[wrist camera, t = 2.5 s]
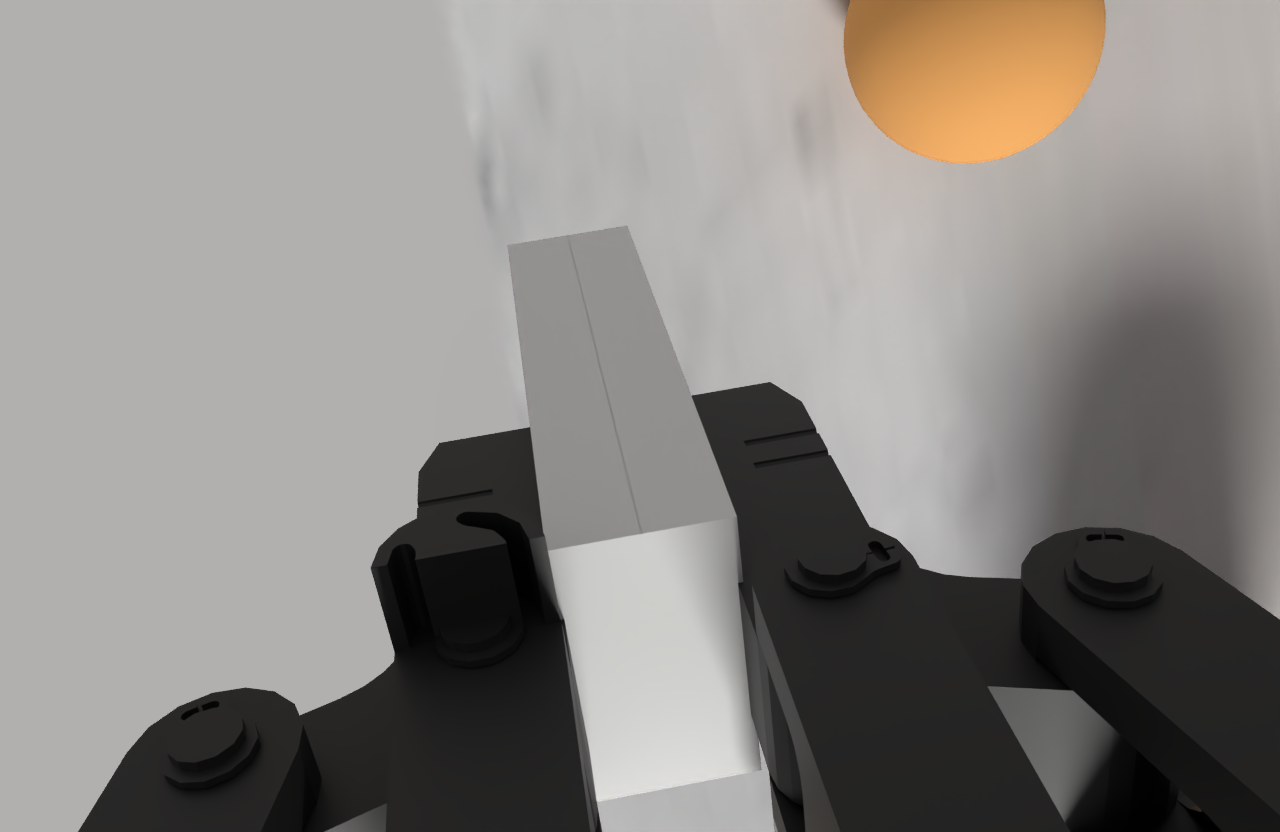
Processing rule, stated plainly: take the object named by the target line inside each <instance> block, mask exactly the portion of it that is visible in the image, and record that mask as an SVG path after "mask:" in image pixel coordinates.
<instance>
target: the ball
mask: <svg viewBox="0 0 1280 832" xmlns="http://www.w3.org/2000/svg"><path fill="white" fill-rule="evenodd" d="M1104 37H1105V4H1104V0H850V4H849V7H848V11H847V15H846V22H845V28H844V54H845V63H846V67H847V71H848V76H849V79H850V82H851V85H852V88H853V90H854V93H855V95H856V97H857V99H858V101H859V103H860V105H861V106H862V108H863V110H864V111H865V112H866V114H867V115H868V116H869V117H870V119H871V120H872V121H873V123H874V124H875V125H876V126H877V127H878V128H879V129H880V130H881V131H882V132H883V133H884V134H885V135H886V136H887V137H889V138H890V139H892V140H893V141H894V142H896V143H897V144H899V145H900V146H902V147H903V148H905V149H907V150H909V151H911V152H913V153H915V154H917V155H920V156H924V157H927V158H930V159H933V160H937V161H943V162H949V163H964V164H967V163H978V162H988V161H992V160H996V159H1001V158H1004V157H1007V156H1009V155H1012V154H1015V153H1017V152H1019V151H1021V150H1023V149H1025V148H1027V147H1029V146H1031V145H1033V144H1035V143H1036V142H1038V141H1039V140H1041V139H1043V138H1044V137H1046V136H1047V135H1048V134H1049V133H1051V132H1052V131H1053V130H1054V129H1056V128H1057V127H1058V126H1059V125H1060V124H1061V123H1062V122H1063V121H1064V120H1065V119H1066V118H1067V117H1068V116H1069V115H1070V114H1071V112H1072V111H1073V110H1074V109H1075V107H1076V106H1077V105H1078V104H1079V102H1080V101H1081V99H1082V97H1083V96H1084V94H1085V93H1086V91H1087V89H1088V87H1089V85H1090V83H1091V81H1092V79H1093V77H1094V75H1095V73H1096V70H1097V67H1098V64H1099V62H1100V58H1101V54H1102V50H1103V45H1104Z"/></svg>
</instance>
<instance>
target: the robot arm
mask: <svg viewBox="0 0 1280 832" xmlns="http://www.w3.org/2000/svg"><path fill="white" fill-rule="evenodd" d="M508 253H509V261H510V269H511V277H512V285H513V293H514V301H515V309H516V317H517V325H518V333H519V341H520V349H521V357H522V365H523V373H524V382H525V390H526V398H527V406H528V414H529V422H530V427H529V428H523V429H518V430H512V431H506V432H501V433H495V434H489V435H483V436H477V437H472V438H466V439H460V440H454V441H448V442H443V443H439V444H438V446H437V447H436V449H435V450H434V452H433V453H432V454H431V456H430V457H429V459H428V460H427V461H426V463H425V464H424V466H423V467H422V468H421V470H420V471H419V479H418V507H419V508H417V519H415V520H413V521H411V522H409V523H408V524H406V525H404V526H402V527H401V528H398V529H397V531H395V532H394V533H393V534H392V535H391V536H390V537H389V538H388V539H387V540H386V541H385V542H384V543H383V544H382V545H381V546H380V547H379V549H378V551H377V553H376V556H375V559H374V561H373V564H372V566H371V571H372V574H373V578H374V581H375V585H376V588H377V592H378V595H379V598H380V602H381V606H382V609H383V612H384V616H385V620H386V623H387V627H388V630H389V634H390V637H391V641H392V644H393V648H394V651H395V657H394V662H393V663H392V664H391V665H390V666H389V667H388V668H387V669H386V671H384V672H383V673H382V674H381V675H379V676H378V677H376V678H375V679H374V680H373V681H371V682H369V683H368V684H367V685H365V686H364V687H362V688H360V689H358V690H356V691H354V692H352V693H350V694H348V695H347V696H344V697H342V698H341V699H338V700H336V701H333V702H331V703H329V704H326V705H324V706H321V707H319V708H317V709H314V710H312V711H310V712H307V713H305V714H302V715H300V716H299V713H298V711H297V709H296V706H295V704H294V703H292V702H290V701H289V700H287V699H285V698H284V697H282V696H281V695H279V694H278V693H276V692H274V691H267V690H259V689H252V688H241V689H234V690H229V691H222V692H215V693H211V694H209V695H207V696H204V697H201V698H199V699H196V700H194V701H191V702H189V703H186V704H184V705H182V706H179V707H177V708H176V709H175V710H173V711H172V712H170V713H169V714H168V715H166V716H165V717H163V718H162V719H160V720H159V721H157V722H156V723H154V724H153V725H151V726H150V727H149V728H148V729H147V730H146V731H145V732H144V733H143V735H142V736H141V737H140V738H139V739H138V740H137V742H136V743H135V744H134V745H133V746H132V747H131V749H130V750H129V751H128V752H127V754H126V755H125V757H124V758H123V760H122V762H121V764H120V765H119V766H118V768H117V770H116V771H115V773H114V775H113V776H112V778H111V779H110V781H109V783H108V784H107V786H106V787H105V789H104V791H103V793H102V794H101V796H100V797H99V799H98V800H97V802H96V804H95V805H94V807H93V809H92V810H91V812H90V813H89V815H88V817H87V818H86V820H85V822H84V823H83V825H82V826H81V828H80V830H79V831H78V832H602V828H601V823H600V818H599V813H598V807H597V802H599V801H604V800H609V799H614V798H620V797H625V796H630V795H635V794H640V793H645V792H651V791H656V790H661V789H666V788H671V787H676V786H682V785H687V784H692V783H697V782H702V781H707V780H712V779H718V778H723V777H728V776H733V775H738V774H743V773H749V772H754V771H759V770H761V760H760V750H759V741H760V744H761V748H762V751H763V754H764V757H765V760H766V764H767V767H768V770H769V775H770V786H771V797H772V807H773V818H774V829H775V832H1280V620H1279V619H1278V618H1277V617H1275V616H1274V615H1272V614H1271V613H1270V612H1268V611H1267V610H1265V609H1264V608H1262V607H1261V606H1260V605H1258V604H1257V603H1255V602H1254V601H1252V600H1251V599H1250V598H1248V597H1247V596H1245V595H1244V594H1242V593H1241V592H1240V591H1238V590H1237V589H1235V588H1234V587H1233V586H1231V585H1230V584H1228V583H1227V582H1225V581H1224V580H1223V579H1221V578H1220V577H1218V576H1217V575H1215V574H1214V573H1213V572H1211V571H1210V570H1208V569H1207V568H1206V567H1204V566H1203V565H1201V564H1200V563H1198V562H1197V561H1196V560H1194V559H1193V558H1191V557H1190V556H1188V555H1187V554H1186V553H1184V552H1183V551H1181V550H1179V549H1177V548H1175V547H1173V546H1171V545H1169V544H1167V543H1165V542H1163V541H1161V540H1159V539H1157V538H1156V537H1154V536H1150V535H1145V534H1141V533H1137V532H1133V531H1129V530H1125V529H1121V528H1087V527H1085V528H1081V529H1076V530H1071V531H1067V532H1062V533H1057V534H1054V535H1053V536H1051V537H1049V538H1047V539H1046V540H1044V541H1042V542H1040V543H1039V544H1037V545H1035V546H1033V548H1032V549H1031V551H1030V552H1029V554H1028V555H1027V557H1026V558H1025V560H1024V562H1023V563H1022V566H1021V579H1009V578H979V577H963V576H954V575H944V574H940V573H936V572H933V571H929V570H925V569H921V568H920V567H919V566H918V564H917V562H916V560H915V559H914V557H913V555H912V554H911V553H910V552H909V551H908V550H907V549H906V548H905V547H904V546H903V545H902V544H901V543H900V542H899V541H898V540H897V539H895V538H893V537H891V536H889V535H887V534H885V533H882V532H880V531H878V530H876V529H874V528H871V527H869V525H868V523H867V521H866V520H865V518H864V516H863V514H862V512H861V510H860V508H859V507H858V505H857V503H856V501H855V499H854V497H853V496H852V494H851V492H850V490H849V488H848V486H847V484H846V483H845V481H844V479H843V477H842V475H841V473H840V472H839V470H838V468H837V466H836V464H835V462H834V460H833V459H832V457H831V455H828V449H827V448H826V446H825V444H824V442H823V440H822V438H821V436H820V435H819V433H818V434H817V432H816V427H815V425H814V424H813V422H812V420H811V418H810V416H809V414H808V412H807V411H806V409H805V407H804V405H803V403H802V402H801V401H800V400H798V399H796V398H795V397H793V396H792V395H790V394H788V393H787V392H785V391H784V390H782V389H780V388H779V387H777V386H776V385H774V384H772V383H771V382H768V383H762V384H757V385H751V386H745V387H739V388H733V389H728V390H722V391H716V392H710V393H705V394H699V395H693V396H691V394H690V391H689V388H688V386H687V383H686V380H685V378H684V375H683V372H682V370H681V367H680V364H679V362H678V359H677V357H676V354H675V351H674V349H673V346H672V343H671V341H670V338H669V335H668V333H667V330H666V327H665V325H664V322H663V319H662V317H661V314H660V311H659V309H658V306H657V303H656V301H655V298H654V296H653V293H652V290H651V288H650V285H649V282H648V280H647V277H646V274H645V272H644V269H643V266H642V264H641V261H640V258H639V256H638V253H637V250H636V248H635V245H634V243H633V240H632V237H631V235H630V232H629V229H628V227H627V226H622V227H616V228H610V229H604V230H598V231H592V232H586V233H580V234H574V235H567V236H561V237H555V238H549V239H543V240H537V241H531V242H525V243H519V244H513V245H508ZM758 738H759V740H758Z"/></svg>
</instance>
